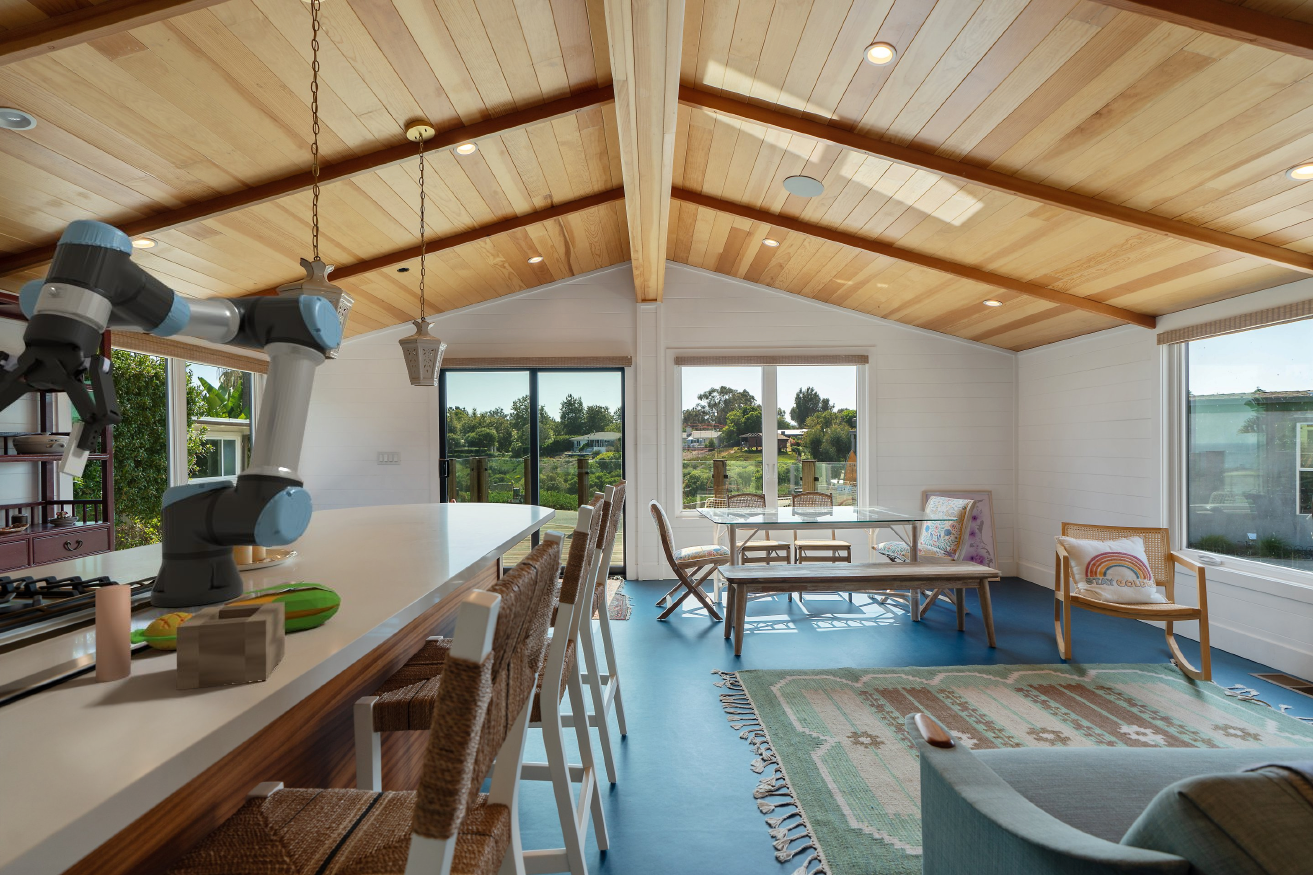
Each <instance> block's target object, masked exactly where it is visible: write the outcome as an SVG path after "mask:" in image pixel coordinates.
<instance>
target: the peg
mask: <svg viewBox="0 0 1313 875" xmlns="http://www.w3.org/2000/svg"><path fill="white" fill-rule="evenodd" d="M131 588H132V586H131V585H130V584H113V585H108V586H107V585H106V586H101V587H98V588H96V589H95V681H96V682H98V683H105V682H106V683H107V682H115V681H118V680H122V679H126V677H127V678H128V677H129V676H131V674H132V662H131V661H132V660H131V659H132V657H131V656H132V651H131V650H132V649H131V648H132V646H131V645H132V644H131V632H132V629H131V625H132V624H131V623H132V620H131V618H132V617H131V615H132V612H131V610H132V607H131V605H132V604H131V603H132V602H131V601H132V600H131V597H132V596H131V595H132V593H131V592H132V591H131V590H132V589H131Z"/></svg>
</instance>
